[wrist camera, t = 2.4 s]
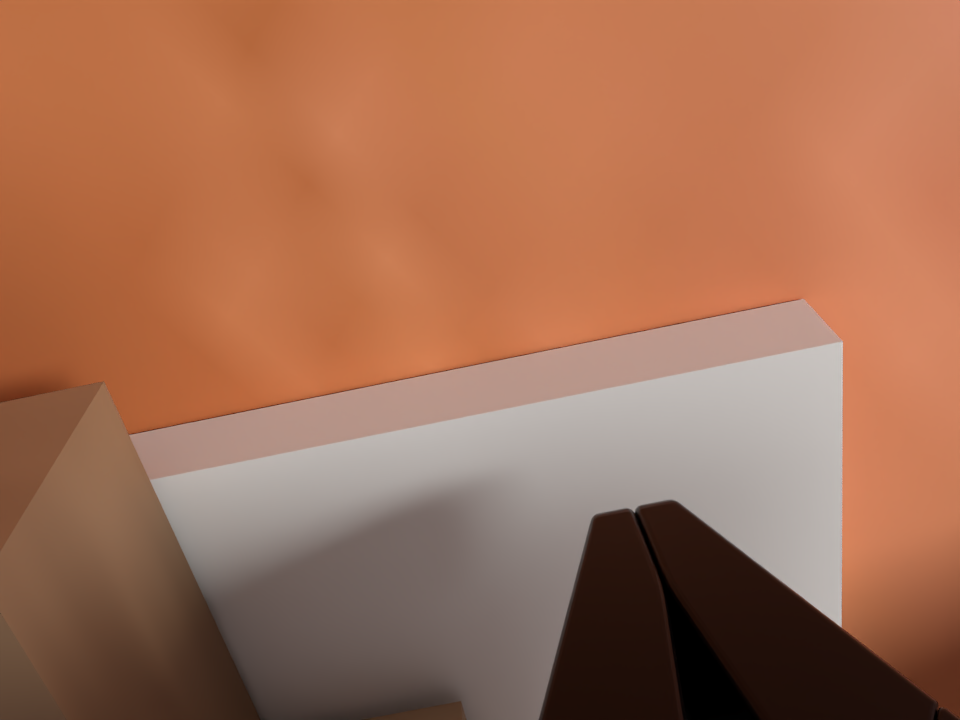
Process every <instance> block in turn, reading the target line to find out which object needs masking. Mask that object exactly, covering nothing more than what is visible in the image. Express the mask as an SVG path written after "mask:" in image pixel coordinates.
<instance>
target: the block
mask: <svg viewBox="0 0 960 720" xmlns="http://www.w3.org/2000/svg"><path fill="white" fill-rule="evenodd" d="M0 720H260V717H259V715H258V713H257V711H256V709H255V707H254V704H253V702H252V700H251V698H250V696H249V694H248V691H247V689H246V687H245V685H244V683H243V681H242V678H241V676H240V674H239V672H238V670H237V668H236V666H235V663H234V661H233V659H232V657H231V655H230V653H229V650H228V648H227V646H226V644H225V642H224V640H223V637H222V635H221V633H220V631H219V629H218V627H217V624H216V622H215V620H214V618H213V616H212V614H211V611H210V609H209V607H208V605H207V603H206V601H205V598H204V596H203V594H202V592H201V590H200V588H199V586H198V583H197V581H196V579H195V577H194V575H193V573H192V570H191V568H190V566H189V564H188V562H187V560H186V557H185V555H184V553H183V551H182V549H181V547H180V544H179V542H178V540H177V538H176V536H175V534H174V531H173V529H172V527H171V525H170V523H169V521H168V518H167V516H166V514H165V512H164V510H163V508H162V506H161V503H160V501H159V499H158V497H157V495H156V493H155V490H154V488H153V486H152V484H151V482H150V480H149V477H148V475H147V473H146V471H145V469H144V467H143V464H142V462H141V460H140V458H139V456H138V454H137V451H136V449H135V447H134V445H133V443H132V441H131V439H130V436H129V434H128V432H127V430H126V428H125V426H124V423H123V421H122V419H121V417H120V415H119V413H118V410H117V408H116V406H115V404H114V402H113V400H112V397H111V395H110V393H109V391H108V389H107V387H106V384H105V382H104V381H103V382H98V383H93V384H88V385H84V386H79V387H74V388H69V389H64V390H59V391H54V392H49V393H44V394H40V395H35V396H30V397H25V398H20V399H15V400H10V401H5V402H0ZM363 720H467V719H466V716H465V713H464V709H463V706H462V703H461V701H459V702H453V703H448V704H443V705H437V706H432V707H427V708H422V709H416V710H411V711H406V712H400V713H395V714H390V715H384V716H379V717H374V718H369V719H363Z"/></svg>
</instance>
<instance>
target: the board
mask: <svg viewBox="0 0 960 720" xmlns="http://www.w3.org/2000/svg"><path fill="white" fill-rule="evenodd" d="M842 400H843V341H842V340H841V339H840V338H839V337H838V336H837V335H836V334H835V332H834V331H833V330H832V329H831V328H830V327H829V326H828V325H827V324H826V323H825V322H824V320H823V319H822V318H821V317H820V316H819V315H818V314H817V313H816V312H815V311H814V310H813V308H812V307H811V306H810V305H809V304H808V303H807V302H806V301H805V300H804V299H800V300H795V301H790V302H785V303H781V304H776V305H771V306H766V307H761V308H756V309H751V310H746V311H741V312H736V313H731V314H726V315H721V316H716V317H711V318H706V319H701V320H696V321H691V322H686V323H681V324H677V325H672V326H667V327H662V328H657V329H652V330H647V331H642V332H637V333H632V334H627V335H622V336H617V337H612V338H607V339H602V340H597V341H592V342H587V343H582V344H577V345H573V346H568V347H563V348H558V349H553V350H548V351H543V352H538V353H533V354H528V355H523V356H518V357H513V358H508V359H503V360H498V361H493V362H488V363H483V364H478V365H474V366H469V367H464V368H459V369H454V370H449V371H444V372H439V373H434V374H429V375H424V376H419V377H414V378H409V379H404V380H399V381H394V382H389V383H384V384H379V385H374V386H370V387H365V388H360V389H355V390H350V391H345V392H340V393H335V394H330V395H325V396H320V397H315V398H310V399H305V400H300V401H295V402H290V403H285V404H280V405H275V406H271V407H266V408H261V409H256V410H251V411H246V412H241V413H236V414H231V415H226V416H221V417H216V418H211V419H206V420H201V421H196V422H191V423H186V424H181V425H176V426H171V427H167V428H162V429H157V430H152V431H147V432H142V433H137V434H132V435H129V436H130V439H131V441H132V443H133V445H134V447H135V449H136V451H137V454H138V456H139V458H140V460H141V462H142V464H143V467H144V469H145V471H146V473H147V475H148V477H149V480H150V482H151V484H152V486H153V488H154V490H155V493H156V495H157V497H158V499H159V501H160V503H161V506H162V508H163V510H164V512H165V514H166V516H167V518H168V521H169V523H170V525H171V527H172V529H173V531H174V534H175V536H176V538H177V540H178V542H179V544H180V547H181V549H182V551H183V553H184V555H185V557H186V560H187V562H188V564H189V566H190V568H191V570H192V573H193V575H194V577H195V579H196V581H197V583H198V586H199V588H200V590H201V592H202V594H203V596H204V598H205V601H206V603H207V605H208V607H209V609H210V611H211V614H212V616H213V618H214V620H215V622H216V624H217V627H218V629H219V631H220V633H221V635H222V637H223V640H224V642H225V644H226V646H227V648H228V650H229V653H230V655H231V657H232V659H233V661H234V663H235V666H236V668H237V670H238V672H239V674H240V676H241V678H242V681H243V683H244V685H245V687H246V689H247V691H248V694H249V696H250V698H251V700H252V702H253V704H254V707H255V709H256V711H257V713H258V715H259V717H260V720H363V719H369V718H374V717H379V716H384V715H390V714H395V713H400V712H406V711H411V710H416V709H422V708H427V707H432V706H437V705H443V704H448V703H453V702H459V701H461V703H462V706H463V709H464V713H465V716H466V719H467V720H539V716H540V712H541V709H542V705H543V701H544V697H545V693H546V689H547V686H548V682H549V678H550V674H551V670H552V666H553V663H554V659H555V655H556V651H557V647H558V643H559V640H560V636H561V632H562V628H563V624H564V621H565V617H566V613H567V609H568V605H569V601H570V598H571V594H572V590H573V586H574V582H575V578H576V575H577V571H578V567H579V563H580V559H581V555H582V552H583V548H584V544H585V540H586V536H587V533H588V529H589V525H590V521H591V519H592V517H593V516H594V515H595V514H598V513H603V512H608V511H613V510H618V509H623V508H629V509H631V510H632V511H633V512H634V513H635V510H636V508H637V507H638V506H640V505H643V504H649V503H654V502H659V501H664V500H675V501H678V502H679V503H680V504H682V505H683V506H684V507H686V508H687V509H688V510H690V511H691V512H692V513H693V514H695V515H696V516H697V517H699V518H700V519H701V520H702V521H704V522H705V523H706V524H708V525H709V526H710V527H712V528H713V529H714V530H715V531H717V532H718V533H719V534H721V535H722V536H723V537H725V538H726V539H727V540H728V541H730V542H731V543H732V544H734V545H735V546H736V547H738V548H739V549H740V550H741V551H743V552H744V553H745V554H747V555H748V556H749V557H750V558H752V559H753V560H754V561H756V562H757V563H758V564H760V565H761V566H762V567H763V568H765V569H766V570H767V571H769V572H770V573H771V574H773V575H774V576H775V577H776V578H778V579H779V580H780V581H782V582H783V583H784V584H786V585H787V586H788V587H789V588H791V589H792V590H793V591H795V592H796V593H797V594H799V595H800V596H801V597H802V598H804V599H805V600H806V601H808V602H809V603H810V604H811V605H813V606H814V607H815V608H817V609H818V610H819V611H821V612H822V613H823V614H824V615H826V616H827V617H828V618H830V619H831V620H832V621H834V622H835V623H836V624H837V625H839V626H840V627H841V628H842Z"/></svg>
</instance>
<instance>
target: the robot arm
mask: <svg viewBox="0 0 960 720" xmlns="http://www.w3.org/2000/svg"><path fill="white" fill-rule="evenodd" d="M539 720H960V718H959V717H957V716H956V715H955V714H953V713H952V712H951V711H950V710H948V709H947V708H944V707H943V708H940V709H939V710H938V703H937V701H936V700H935V699H933V698H932V697H931V696H930V695H928V694H927V693H926V692H924V691H923V690H922V689H920V688H919V687H918V686H917V685H915V684H914V683H913V682H911V681H910V680H909V679H907V678H906V677H905V676H904V675H902V674H901V673H900V672H898V671H897V670H896V669H895V668H893V667H892V666H891V665H889V664H888V663H887V662H885V661H884V660H883V659H882V658H880V657H879V656H878V655H876V654H875V653H874V652H872V651H871V650H870V649H869V648H867V647H866V646H865V645H863V644H862V643H861V642H859V641H858V640H857V639H856V638H854V637H853V636H852V635H850V634H849V633H848V632H847V631H845V630H844V629H843V628H841V627H840V626H839V625H837V624H836V623H835V622H834V621H832V620H831V619H830V618H828V617H827V616H826V615H824V614H823V613H822V612H821V611H819V610H818V609H817V608H815V607H814V606H813V605H811V604H810V603H809V602H808V601H806V600H805V599H804V598H802V597H801V596H800V595H799V594H797V593H796V592H795V591H793V590H792V589H791V588H789V587H788V586H787V585H786V584H784V583H783V582H782V581H780V580H779V579H778V578H776V577H775V576H774V575H773V574H771V573H770V572H769V571H767V570H766V569H765V568H763V567H762V566H761V565H760V564H758V563H757V562H756V561H754V560H753V559H752V558H750V557H749V556H748V555H747V554H745V553H744V552H743V551H741V550H740V549H739V548H738V547H736V546H735V545H734V544H732V543H731V542H730V541H728V540H727V539H726V538H725V537H723V536H722V535H721V534H719V533H718V532H717V531H715V530H714V529H713V528H712V527H710V526H709V525H708V524H706V523H705V522H704V521H702V520H701V519H700V518H699V517H697V516H696V515H695V514H693V513H692V512H691V511H690V510H688V509H687V508H686V507H684V506H683V505H682V504H680V503H679V502H678V501H675V500H664V501H659V502H654V503H649V504H643V505H640V506H638V507H637V508H636V510H635V513H634V512H633V511H632V510H631V509H629V508H623V509H618V510H613V511H608V512H603V513H598V514H595V515H594V516H593V517H592V519H591V521H590V525H589V529H588V533H587V536H586V540H585V544H584V548H583V552H582V555H581V559H580V563H579V567H578V571H577V575H576V578H575V582H574V586H573V590H572V594H571V598H570V601H569V605H568V609H567V613H566V617H565V621H564V624H563V628H562V632H561V636H560V640H559V643H558V647H557V651H556V655H555V659H554V663H553V666H552V670H551V674H550V678H549V682H548V686H547V689H546V693H545V697H544V701H543V705H542V709H541V712H540V716H539Z"/></svg>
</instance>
